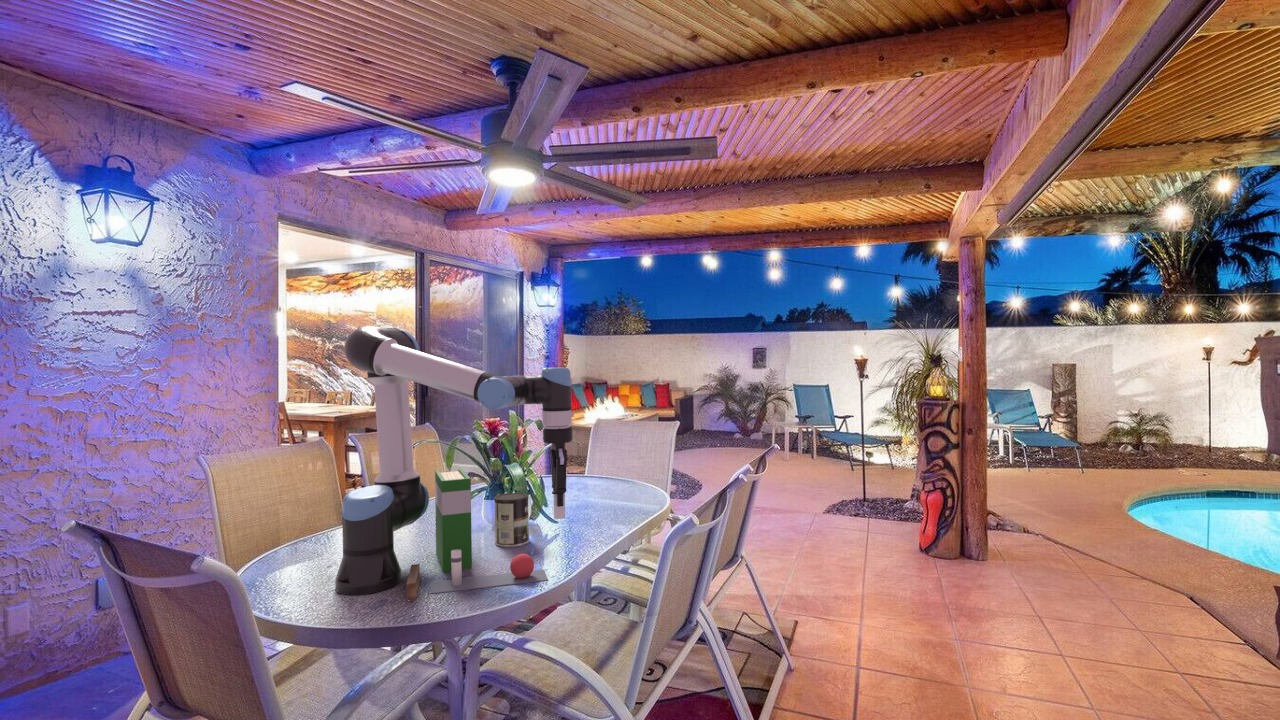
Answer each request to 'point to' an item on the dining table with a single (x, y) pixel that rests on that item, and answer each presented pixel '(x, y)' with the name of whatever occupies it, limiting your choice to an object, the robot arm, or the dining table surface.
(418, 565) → the stopper wall
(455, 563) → the pin
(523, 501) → the coffee can
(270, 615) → the dining table surface
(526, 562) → the ball
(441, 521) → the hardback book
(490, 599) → the dining table surface
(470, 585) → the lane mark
